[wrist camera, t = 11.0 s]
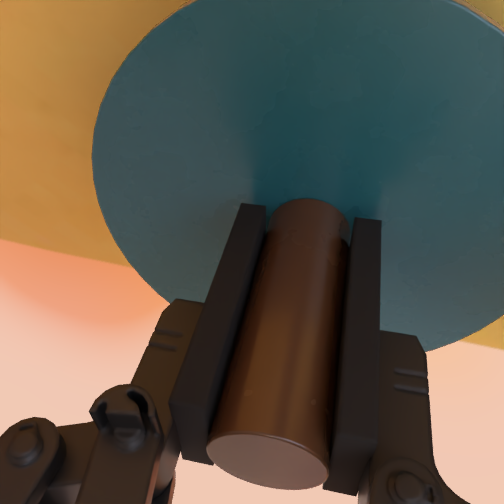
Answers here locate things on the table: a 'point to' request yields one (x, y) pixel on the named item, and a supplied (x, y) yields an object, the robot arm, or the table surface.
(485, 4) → the table surface
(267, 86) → the lid
